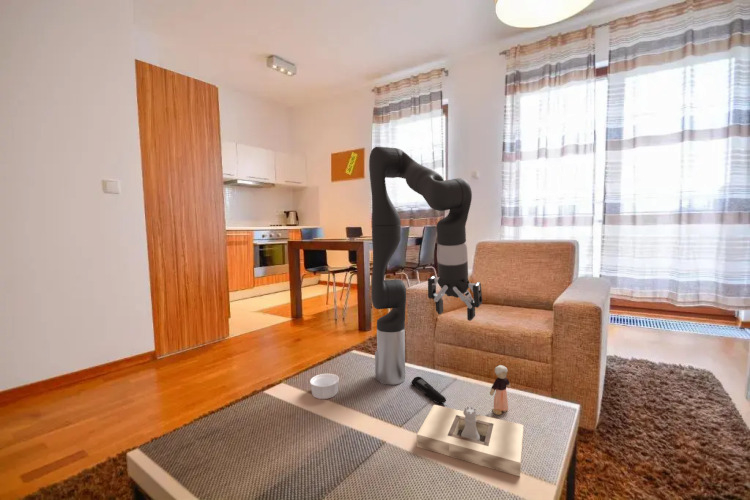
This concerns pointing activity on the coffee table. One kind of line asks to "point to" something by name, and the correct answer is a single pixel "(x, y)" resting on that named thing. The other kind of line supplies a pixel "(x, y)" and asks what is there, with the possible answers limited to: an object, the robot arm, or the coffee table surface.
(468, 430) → the rook chess piece
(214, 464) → the coffee table surface
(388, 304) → the robot arm
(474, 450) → the socket board
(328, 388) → the ramekin
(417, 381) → the electric trimmer
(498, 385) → the grandmother figurine
